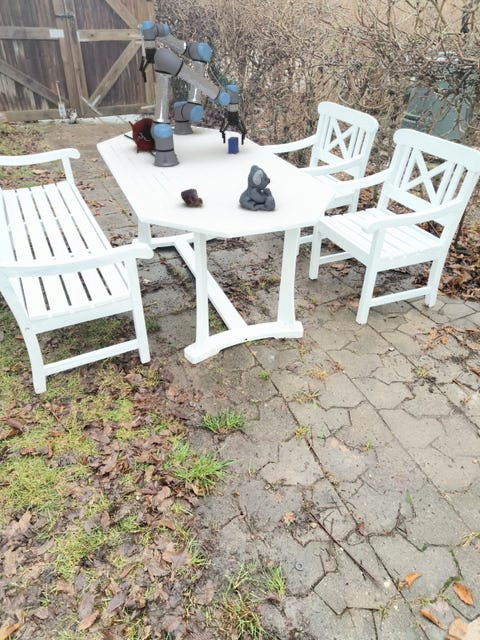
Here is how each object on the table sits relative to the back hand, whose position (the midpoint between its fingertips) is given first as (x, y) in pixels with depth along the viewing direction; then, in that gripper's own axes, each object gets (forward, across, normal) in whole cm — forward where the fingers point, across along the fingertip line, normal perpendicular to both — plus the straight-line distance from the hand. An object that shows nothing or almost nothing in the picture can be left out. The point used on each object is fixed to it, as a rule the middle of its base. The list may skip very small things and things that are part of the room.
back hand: (154, 82), depth 319 cm
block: (+41, -63, +11) cm, 76 cm away
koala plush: (+41, -109, +107) cm, 158 cm away
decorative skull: (+41, -2, +19) cm, 45 cm away
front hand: (+35, -63, +10) cm, 73 cm away
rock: (+41, -77, +116) cm, 145 cm away
